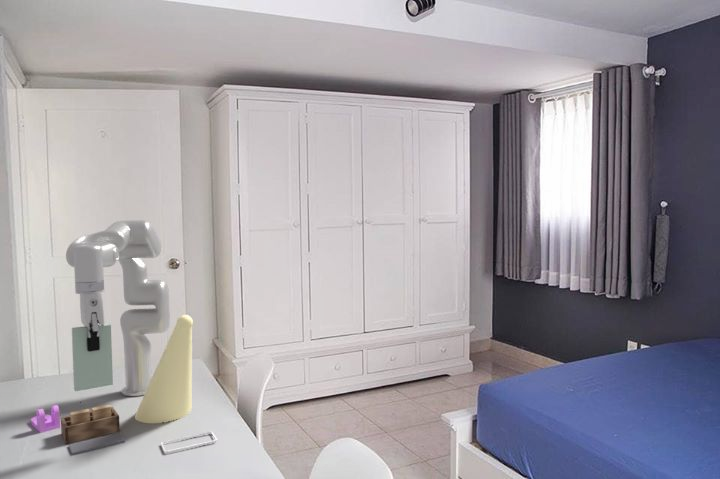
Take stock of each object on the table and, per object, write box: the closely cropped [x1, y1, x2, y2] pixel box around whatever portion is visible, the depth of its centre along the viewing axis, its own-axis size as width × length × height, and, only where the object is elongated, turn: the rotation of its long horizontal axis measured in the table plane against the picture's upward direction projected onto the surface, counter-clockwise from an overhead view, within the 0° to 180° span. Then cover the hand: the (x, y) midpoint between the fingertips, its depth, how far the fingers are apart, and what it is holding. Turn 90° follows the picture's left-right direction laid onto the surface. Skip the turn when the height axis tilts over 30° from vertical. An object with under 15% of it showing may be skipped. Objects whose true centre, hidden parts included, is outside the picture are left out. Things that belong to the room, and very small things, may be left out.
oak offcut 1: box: [69, 408, 91, 425], centre depth 165 cm, size 5×2×8 cm, turn 126°
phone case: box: [160, 431, 218, 455], centre depth 159 cm, size 7×1×15 cm
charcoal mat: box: [68, 431, 126, 456], centre depth 160 cm, size 14×7×1 cm, turn 126°
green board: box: [71, 323, 114, 392], centre depth 158 cm, size 10×2×18 cm, turn 126°
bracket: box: [30, 404, 61, 434], centre depth 175 cm, size 13×6×7 cm, turn 45°
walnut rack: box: [60, 406, 121, 445], centre depth 168 cm, size 15×9×5 cm, turn 126°
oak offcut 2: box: [91, 404, 112, 421], centre depth 168 cm, size 5×2×8 cm, turn 126°
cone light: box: [134, 314, 194, 424], centre depth 181 cm, size 25×18×35 cm
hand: (92, 348), depth 158 cm, fingers closed on green board, 2 cm apart
